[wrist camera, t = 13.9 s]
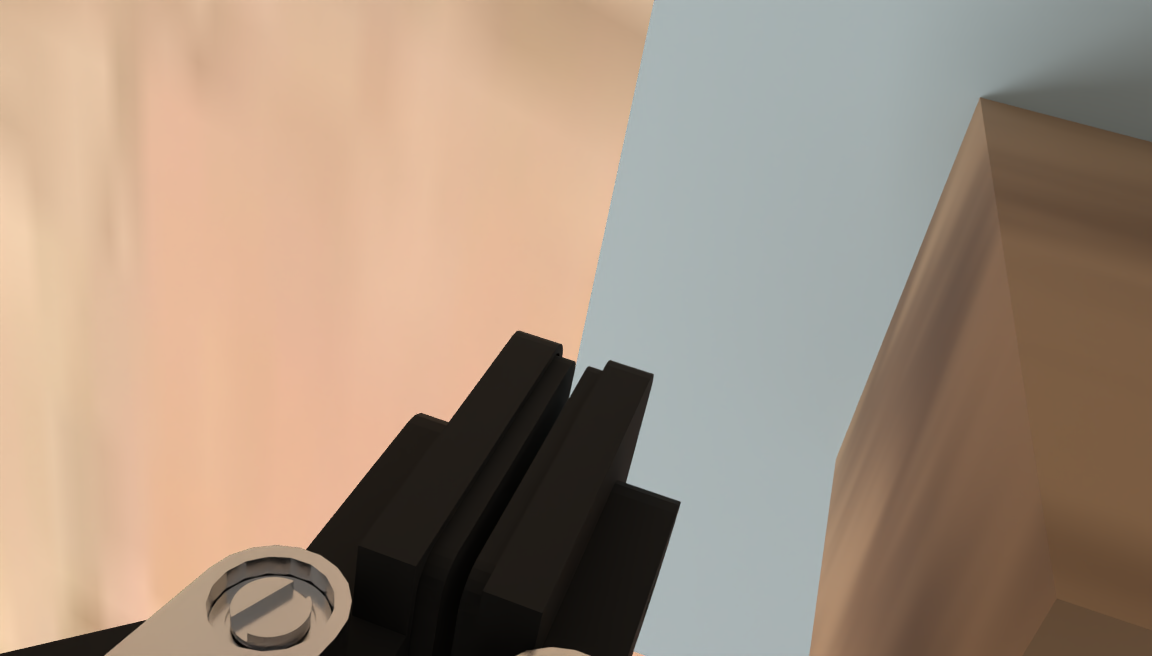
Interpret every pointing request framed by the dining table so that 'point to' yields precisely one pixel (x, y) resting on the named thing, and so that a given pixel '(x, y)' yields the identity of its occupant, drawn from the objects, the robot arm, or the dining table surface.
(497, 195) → the dining table surface
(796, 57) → the board
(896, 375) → the walnut slab
